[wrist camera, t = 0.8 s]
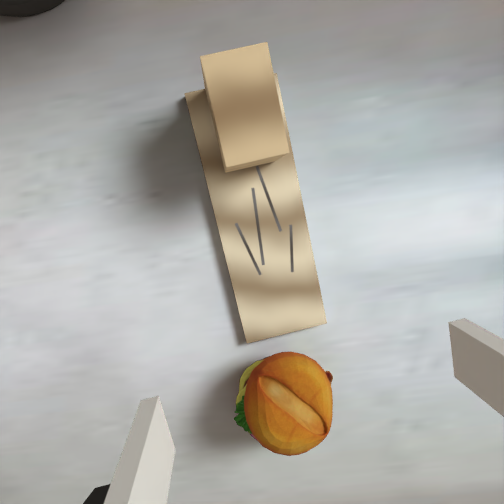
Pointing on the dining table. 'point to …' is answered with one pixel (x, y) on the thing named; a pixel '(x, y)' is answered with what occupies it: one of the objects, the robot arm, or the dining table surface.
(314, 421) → the cheeseburger
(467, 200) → the dining table surface
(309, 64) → the dining table surface
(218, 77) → the block
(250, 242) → the board
